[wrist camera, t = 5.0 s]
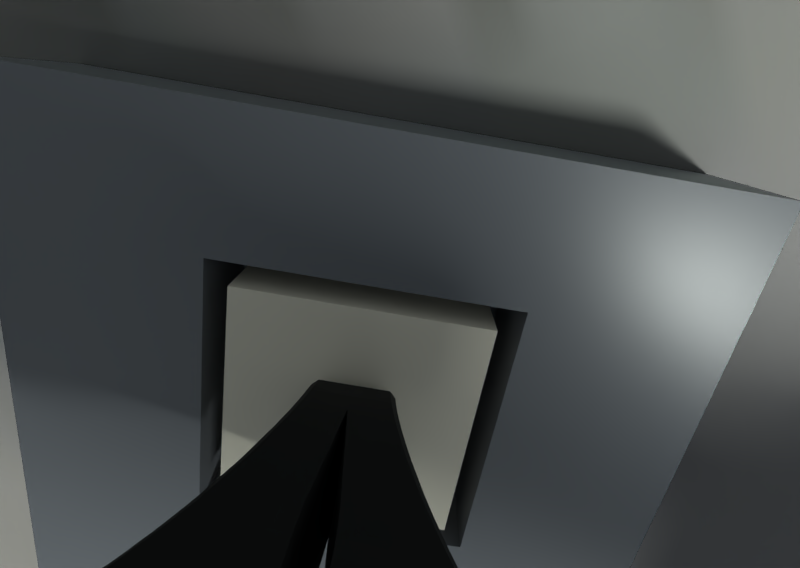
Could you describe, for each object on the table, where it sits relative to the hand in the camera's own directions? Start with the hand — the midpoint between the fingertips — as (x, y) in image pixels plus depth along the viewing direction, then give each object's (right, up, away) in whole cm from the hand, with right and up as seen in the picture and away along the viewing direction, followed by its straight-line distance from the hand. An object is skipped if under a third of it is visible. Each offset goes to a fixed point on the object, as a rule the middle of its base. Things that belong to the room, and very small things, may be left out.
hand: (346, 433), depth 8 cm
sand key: (0, +1, +2) cm, 2 cm away
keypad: (-1, -6, +5) cm, 8 cm away
